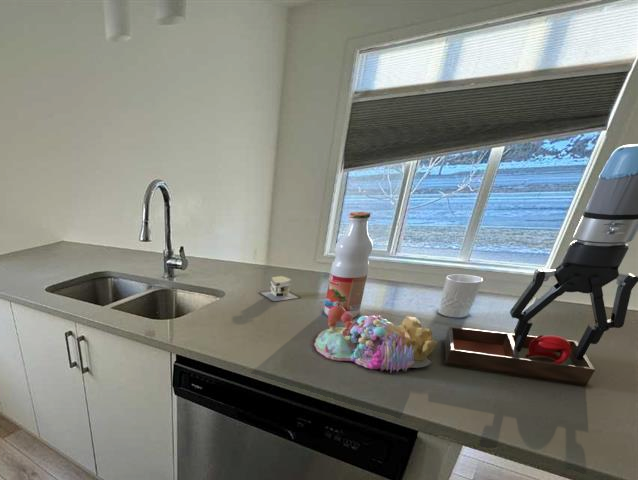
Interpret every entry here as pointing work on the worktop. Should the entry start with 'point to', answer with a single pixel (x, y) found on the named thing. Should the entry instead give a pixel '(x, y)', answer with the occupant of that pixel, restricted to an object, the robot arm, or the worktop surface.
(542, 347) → the red curved piece
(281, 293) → the stacked layers on plate
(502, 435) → the worktop surface
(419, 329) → the candy landscape model
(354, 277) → the fruit juice
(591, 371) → the sorting tray
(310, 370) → the worktop surface
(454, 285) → the white cup
